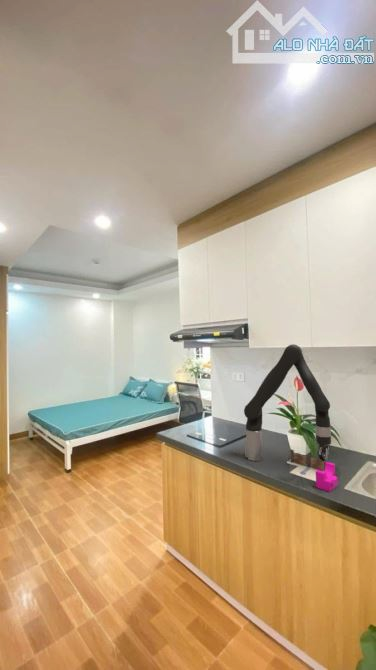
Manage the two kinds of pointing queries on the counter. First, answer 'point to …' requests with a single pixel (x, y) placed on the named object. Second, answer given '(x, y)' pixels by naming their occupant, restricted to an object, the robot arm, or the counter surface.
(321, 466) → the fence panel
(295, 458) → the fence fixed
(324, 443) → the robot arm
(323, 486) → the toy block
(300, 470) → the card
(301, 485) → the counter surface
